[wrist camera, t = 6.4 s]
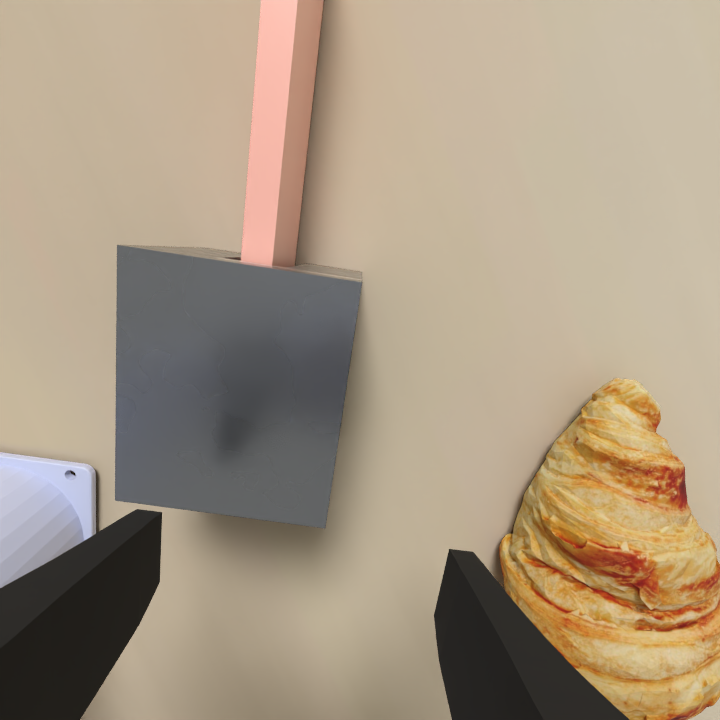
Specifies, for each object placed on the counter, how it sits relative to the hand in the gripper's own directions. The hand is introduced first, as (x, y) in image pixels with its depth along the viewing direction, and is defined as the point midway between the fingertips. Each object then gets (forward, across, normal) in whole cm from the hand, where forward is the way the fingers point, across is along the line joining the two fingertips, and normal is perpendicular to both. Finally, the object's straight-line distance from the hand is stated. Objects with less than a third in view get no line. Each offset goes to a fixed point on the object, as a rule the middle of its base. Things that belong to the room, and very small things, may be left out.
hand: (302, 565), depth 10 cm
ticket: (+10, +3, -13) cm, 17 cm away
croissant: (+10, -14, +6) cm, 19 cm away
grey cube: (+10, +3, -3) cm, 11 cm away
